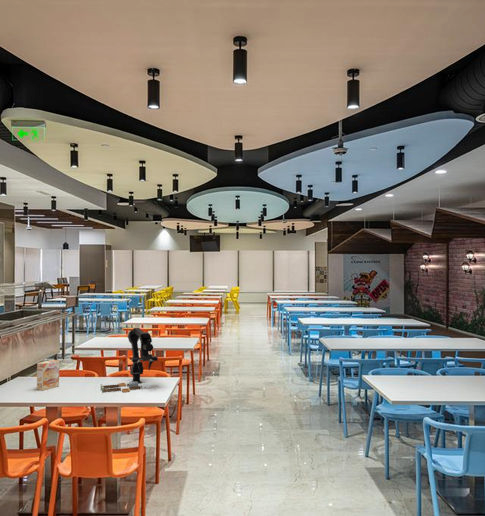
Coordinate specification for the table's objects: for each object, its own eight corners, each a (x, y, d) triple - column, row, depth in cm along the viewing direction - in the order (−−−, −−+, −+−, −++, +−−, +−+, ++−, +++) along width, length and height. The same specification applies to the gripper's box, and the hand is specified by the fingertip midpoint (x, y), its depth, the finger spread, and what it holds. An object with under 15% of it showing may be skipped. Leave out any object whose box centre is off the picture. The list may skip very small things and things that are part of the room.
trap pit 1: (118, 385, 367) (118, 383, 367) (125, 384, 368) (125, 382, 368) (119, 386, 362) (119, 384, 362) (126, 386, 364) (126, 384, 364)
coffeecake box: (43, 390, 350) (43, 363, 350) (36, 389, 353) (36, 362, 353) (59, 386, 363) (59, 360, 363) (52, 385, 366) (53, 359, 367)
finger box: (100, 388, 357) (100, 384, 357) (137, 385, 367) (137, 381, 367) (102, 392, 345) (102, 388, 345) (140, 389, 355) (140, 385, 355)
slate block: (128, 387, 361) (129, 382, 361) (137, 386, 363) (137, 381, 363) (130, 389, 356) (130, 383, 356) (138, 388, 358) (138, 383, 358)
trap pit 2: (121, 390, 350) (121, 388, 350) (128, 390, 352) (128, 388, 352) (122, 392, 345) (122, 390, 345) (129, 391, 347) (129, 389, 347)
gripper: (133, 352, 352) (133, 373, 352) (159, 350, 359) (159, 371, 359) (131, 349, 363) (131, 370, 362) (156, 348, 370) (156, 368, 369)
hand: (144, 370), depth 363 cm, fingers open, 6 cm apart
